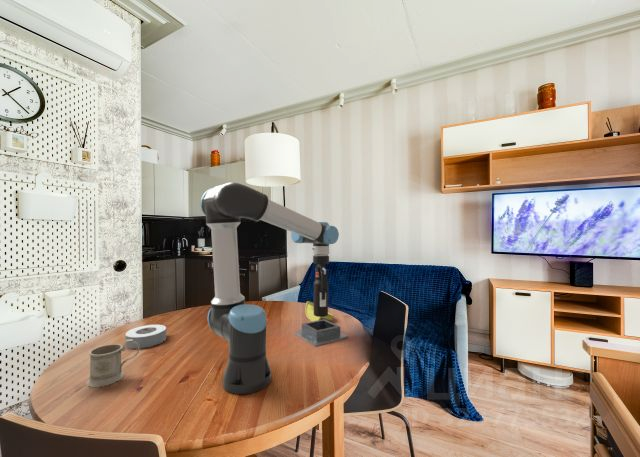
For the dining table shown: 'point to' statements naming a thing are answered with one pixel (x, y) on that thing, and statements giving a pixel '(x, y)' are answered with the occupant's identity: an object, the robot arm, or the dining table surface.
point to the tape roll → (146, 336)
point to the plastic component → (310, 313)
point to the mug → (107, 364)
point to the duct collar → (320, 332)
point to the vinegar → (317, 309)
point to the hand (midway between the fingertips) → (321, 304)
